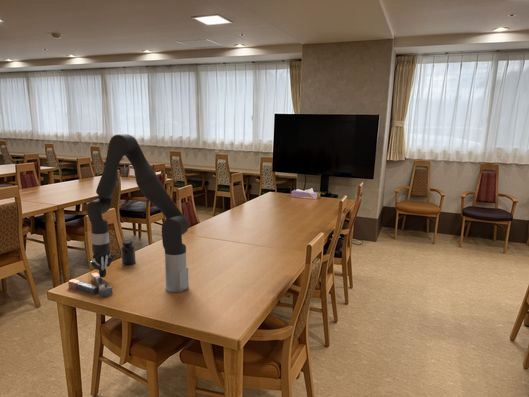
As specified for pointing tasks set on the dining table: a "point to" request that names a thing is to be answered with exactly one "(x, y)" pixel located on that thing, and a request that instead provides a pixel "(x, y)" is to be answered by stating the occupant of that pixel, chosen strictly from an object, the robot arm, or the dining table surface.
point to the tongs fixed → (90, 288)
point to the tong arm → (97, 279)
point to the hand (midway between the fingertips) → (102, 276)
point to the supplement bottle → (128, 253)
